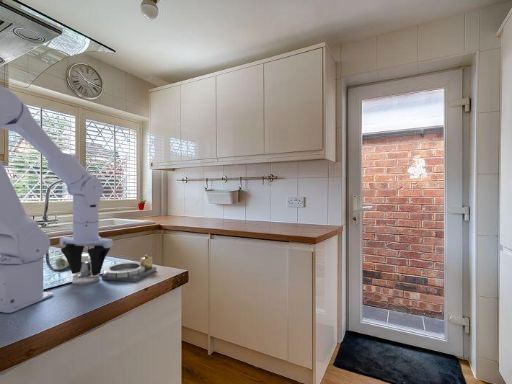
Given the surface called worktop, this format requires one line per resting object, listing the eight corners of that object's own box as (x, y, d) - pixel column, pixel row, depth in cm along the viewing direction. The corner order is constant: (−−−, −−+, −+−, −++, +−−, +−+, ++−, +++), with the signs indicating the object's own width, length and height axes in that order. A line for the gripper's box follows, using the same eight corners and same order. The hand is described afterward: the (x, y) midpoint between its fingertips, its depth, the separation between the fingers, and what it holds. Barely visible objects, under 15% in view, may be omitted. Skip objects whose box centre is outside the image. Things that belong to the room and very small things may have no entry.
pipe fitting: (93, 264, 91) (73, 262, 91) (94, 252, 91) (74, 250, 91) (76, 271, 83) (54, 269, 83) (77, 258, 83) (55, 256, 83)
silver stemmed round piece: (87, 286, 70) (87, 266, 70) (66, 283, 71) (66, 264, 71) (104, 278, 76) (104, 260, 76) (85, 276, 77) (85, 258, 77)
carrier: (132, 283, 72) (132, 264, 71) (94, 280, 74) (94, 261, 74) (156, 270, 82) (156, 253, 82) (122, 268, 85) (122, 251, 85)
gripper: (120, 220, 75) (120, 270, 76) (75, 219, 78) (75, 267, 79) (101, 224, 69) (101, 279, 69) (52, 222, 72) (52, 275, 72)
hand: (86, 273), depth 73 cm, fingers open, 6 cm apart
